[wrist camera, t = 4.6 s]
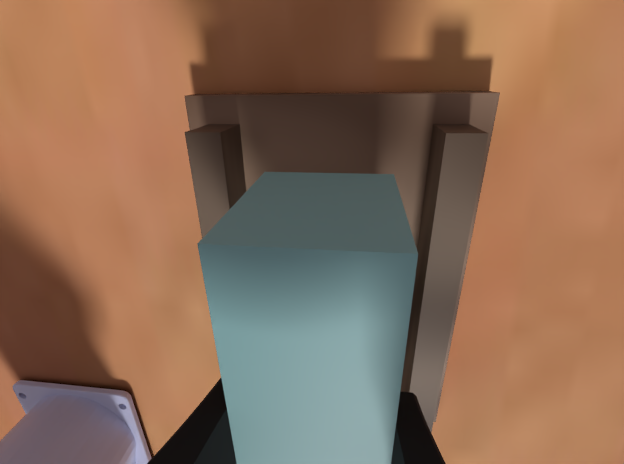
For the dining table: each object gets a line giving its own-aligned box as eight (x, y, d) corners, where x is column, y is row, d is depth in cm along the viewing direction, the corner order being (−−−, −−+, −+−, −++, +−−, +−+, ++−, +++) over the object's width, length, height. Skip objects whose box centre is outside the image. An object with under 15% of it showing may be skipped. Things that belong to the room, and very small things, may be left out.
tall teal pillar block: (371, 437, 16) (375, 585, 11) (284, 427, 16) (254, 565, 12) (393, 174, 10) (418, 254, 6) (264, 171, 11) (197, 243, 6)
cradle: (431, 405, 19) (443, 460, 16) (238, 386, 20) (219, 434, 18) (489, 91, 12) (526, 96, 10) (196, 94, 14) (155, 99, 11)
